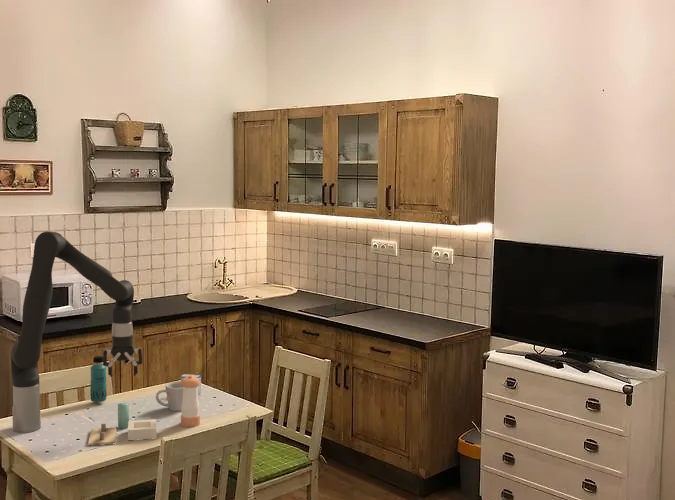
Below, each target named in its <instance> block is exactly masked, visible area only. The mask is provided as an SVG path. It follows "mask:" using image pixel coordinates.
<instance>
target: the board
mask: <svg viewBox="0 0 675 500" xmlns="http://www.w3.org/2000/svg"><path fill="white" fill-rule="evenodd" d="M100 426H101V427H99V428H90V429H91V430H90V435H89V439H88V442H87V443H88V446H87V447H90V446H89V445H98V446H101V445H100V444H112V445H114V444H113V443H115V444H116V438H117V437H116V436H117V428H118V426H117V427H116V426H114V427H112V426H111V427H106V423H101V424H100ZM115 437H116V438H115Z"/></svg>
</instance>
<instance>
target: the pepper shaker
mask: <svg viewBox="0 0 675 500" xmlns="http://www.w3.org/2000/svg"><path fill="white" fill-rule="evenodd" d="M191 375H192V374H190V376H188V377H186V378H184V379H183V380H182V381H181V380H180V381H181V385H182V386H183V401H182V411H181V415H180V425H181V426H182V427H185V428H192V427H193V428H194V427H198V426H200V424H201V415H200V404H199V396H198V385H199V383H200V382H199V380H198V378H196V377H192V376H191Z"/></svg>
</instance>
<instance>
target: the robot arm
mask: <svg viewBox="0 0 675 500" xmlns="http://www.w3.org/2000/svg"><path fill="white" fill-rule="evenodd" d="M56 258H57V259H59V260H61V261H63V262H66V263H67V264H68V265H70V266H71V267H72V268H74V270H76V271H77V272H78V273H79V274H80V275H81V276H82V277H84V278H85V279H86V280H87V281H89V282H91V283H92V284H94V285H95V286H97V287H99V288H100V290H102V291H103V293H105V294H106V296H108V297H109V298H110V299H112V300H114V301H115V305H114V307H113V308H112V312H111V313H112V323H111V325H112V326H111V349H107V348H104V349H103V362H102V364H103V366H106V368H107V371H108V372H107V375H108V376H109V377H113V365H114V364H115V362H116V361H128V360H129V362H131V363H132V364H133V376H134V377H135V376H136V375H137V374H138V373H139V371H138V369H139V367H138V366H139V365H142V364H143V351H142V347H140V346H139V347H138V348H134V334H133V333H134V329H133V328H134V327H133V313H132V310H133V305H134V304H133V303H134V299H135V297H134V296H135V289H134V285H133V283H132V282H131V281H129V280H126V279H122V280H120V281H119V280H117V278H115V277H114V276H113V273H112V272H111V271H110V270H108V269H107V268H105V267H104V266H103V265H101V264H99V263H98V262H96V261H95V260H94V259H91V258H90V257H89V256H87V255H85V254H84V253H82V252H81V251H80V250H79V249H77V248H76V247H75V246H74V245H73V243H72V244H71V242H70V241H69V240H68V239H66V238H65V237H64V236H63V235H62V234H61V233H59V232H56V231H43V232H41V233H39V235H37V237H36V239H35V241H34V246H33V256H32V265H31V270H30V273H29V278H28V282H27V286H26V290H25V294H24V300H23V304H22V317H21V318H22V319H21V320H22V323H21V324H22V327H21V333H20V338H19V340H18V342H16V343H15V344H13V346H12V348H11V350H10V364H11V365H10V368H11V379H12V380H11V381H12V394H13V395H12V396H13V397H12V402H13V405H12V407H11V409H12V410H11V411H12V432H13V433H14V432H15V433H31V432H35V431H37V430H39V429H41V427H42V426H41V423H42V422H41V391H40V388H41V387H40V374H39V367H38V366H39V365H38V363H39V360H40V357H41V348H42V341H43V334H44V330H45V329H44V328H45V325H46V322H47V318H48V315H49V311H50V307H51V303H52V298H53V294H54V292H53V290H54V289H53V287H54V286H53V275H52V274H53V267H54V262H55V260H56ZM110 353H111V354H112V356H113V357H112V358H111V359H110V361H109V362H108V356H109V355H110ZM134 353H135V354H136V355H138V360H136V359H135V357H134V356H133V354H134Z"/></svg>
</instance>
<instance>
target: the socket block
mask: <svg viewBox="0 0 675 500" xmlns="http://www.w3.org/2000/svg"><path fill="white" fill-rule="evenodd" d="M152 438H156V439H157V419H156V418H155V419H153V418H152V419H141V420H140V419H138V420H129V422H128V428H127V441H128V440H134V441H138V440H137V439H149V440H153V439H152Z"/></svg>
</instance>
